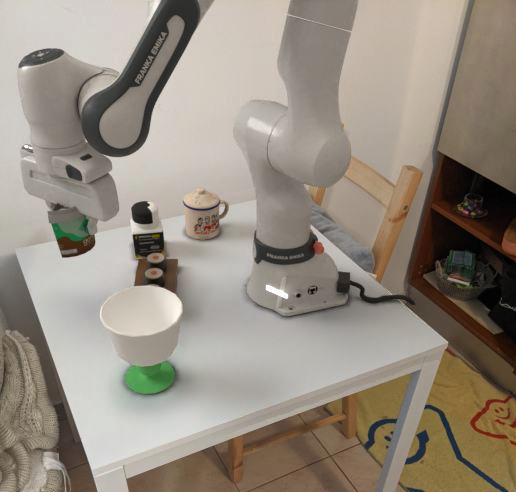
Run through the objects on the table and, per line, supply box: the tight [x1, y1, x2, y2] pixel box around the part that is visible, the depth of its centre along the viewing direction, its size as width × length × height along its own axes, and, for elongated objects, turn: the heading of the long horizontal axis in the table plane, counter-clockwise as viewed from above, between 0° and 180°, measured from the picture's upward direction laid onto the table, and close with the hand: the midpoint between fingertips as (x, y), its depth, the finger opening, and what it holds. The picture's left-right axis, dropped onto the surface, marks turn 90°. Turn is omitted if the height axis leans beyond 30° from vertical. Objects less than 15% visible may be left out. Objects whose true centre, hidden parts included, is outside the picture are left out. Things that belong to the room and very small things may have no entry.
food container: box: [46, 203, 96, 259], centre depth 104 cm, size 12×6×10 cm, turn 178°
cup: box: [99, 285, 184, 395], centre depth 97 cm, size 14×14×16 cm
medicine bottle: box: [129, 200, 166, 260], centre depth 130 cm, size 7×7×12 cm
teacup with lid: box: [182, 187, 230, 241], centre depth 138 cm, size 12×9×12 cm
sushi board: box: [133, 253, 179, 295], centre depth 120 cm, size 9×20×5 cm, turn 4°
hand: (76, 227), depth 104 cm, fingers closed on food container, 6 cm apart
